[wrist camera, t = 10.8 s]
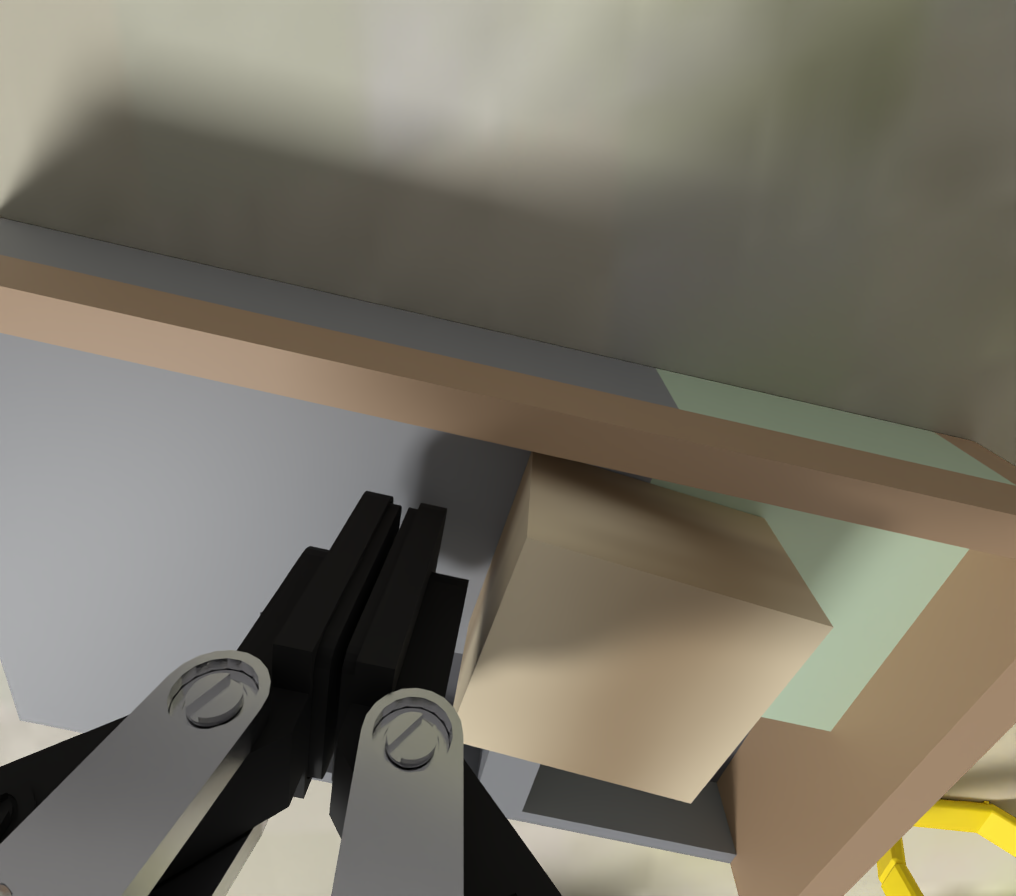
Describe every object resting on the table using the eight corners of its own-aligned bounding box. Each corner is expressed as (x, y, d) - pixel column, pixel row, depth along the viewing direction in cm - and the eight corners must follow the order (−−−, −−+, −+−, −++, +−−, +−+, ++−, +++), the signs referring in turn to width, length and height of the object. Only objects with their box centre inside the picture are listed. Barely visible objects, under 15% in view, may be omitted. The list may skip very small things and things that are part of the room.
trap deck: (85, 654, 18) (-48, 788, 14) (-9, 215, 12) (-297, 232, 8) (736, 787, 19) (786, 952, 15) (974, 441, 13) (1174, 563, 8)
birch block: (468, 622, 13) (446, 739, 10) (533, 447, 11) (526, 537, 8) (662, 677, 13) (691, 803, 10) (764, 518, 11) (833, 627, 8)
